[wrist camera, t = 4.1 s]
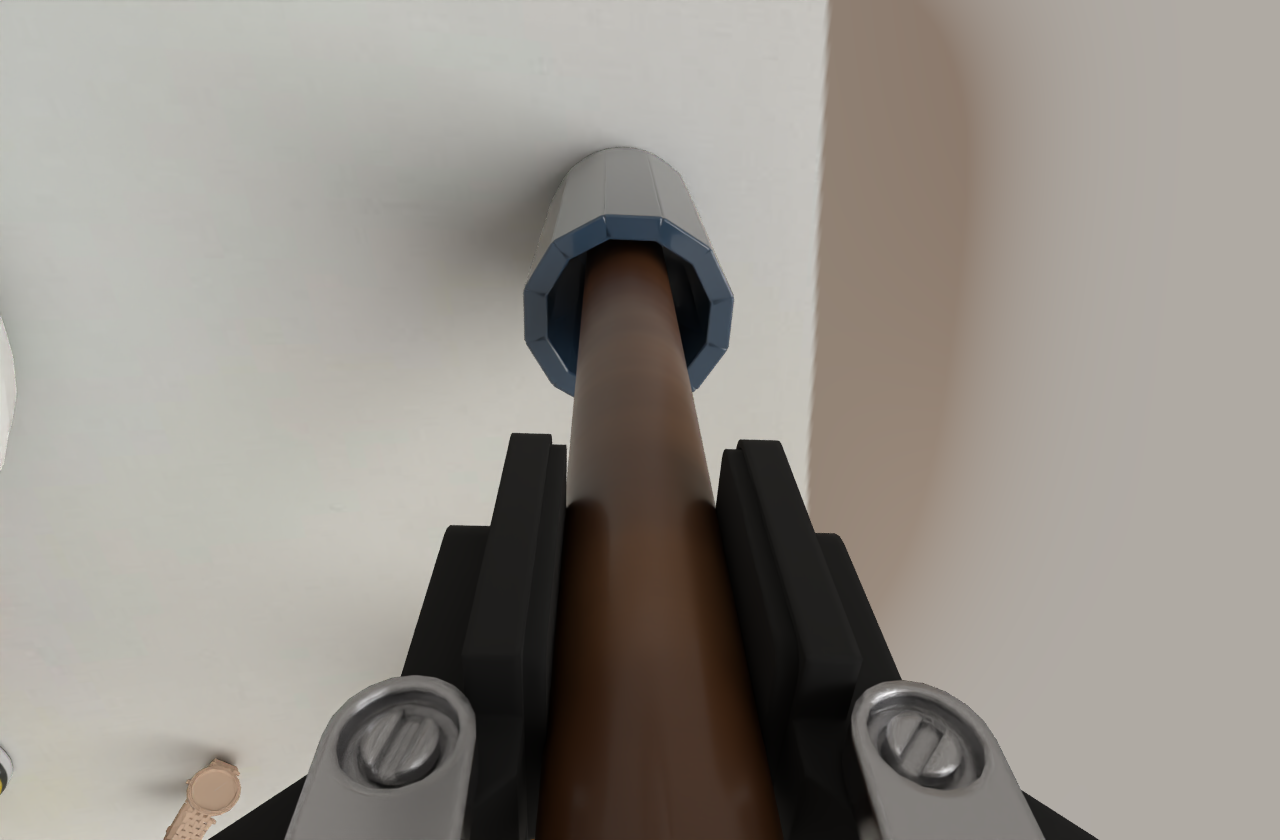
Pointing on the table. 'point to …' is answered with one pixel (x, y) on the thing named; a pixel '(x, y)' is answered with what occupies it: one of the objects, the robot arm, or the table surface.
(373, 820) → the robot arm
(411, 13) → the table surface
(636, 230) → the holder
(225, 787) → the tan wristwatch
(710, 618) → the stirring stick
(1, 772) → the supplement bottle
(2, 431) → the bowl
